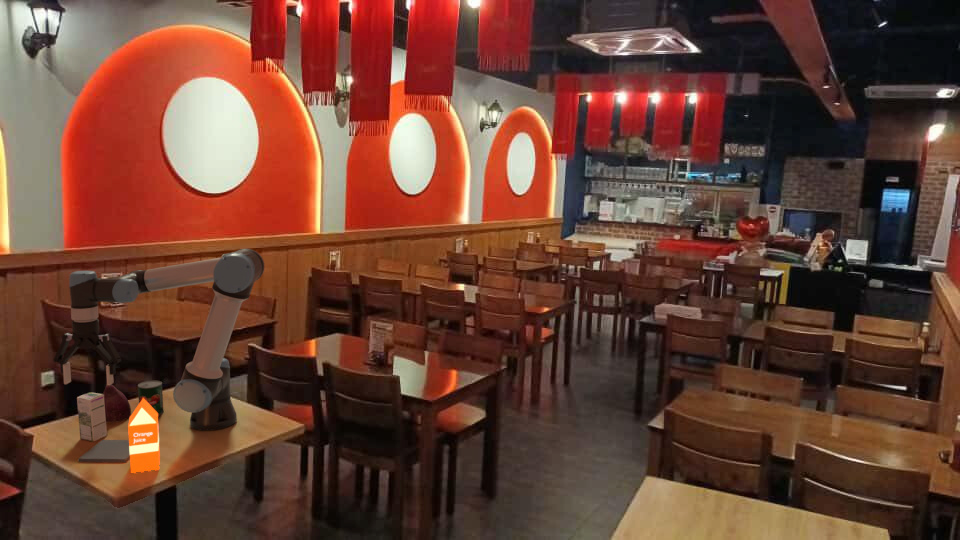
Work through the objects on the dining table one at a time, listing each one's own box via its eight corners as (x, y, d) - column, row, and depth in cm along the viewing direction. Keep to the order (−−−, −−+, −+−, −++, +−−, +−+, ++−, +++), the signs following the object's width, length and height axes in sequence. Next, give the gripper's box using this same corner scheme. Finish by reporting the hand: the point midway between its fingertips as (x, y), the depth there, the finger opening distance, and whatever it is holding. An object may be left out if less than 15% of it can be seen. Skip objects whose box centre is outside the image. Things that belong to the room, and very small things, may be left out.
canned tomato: (159, 407, 251) (158, 379, 249) (166, 413, 245) (165, 384, 244) (136, 412, 246) (134, 383, 244) (143, 419, 240) (141, 389, 238)
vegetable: (118, 431, 236) (112, 396, 230) (92, 425, 238) (85, 389, 232) (138, 414, 246) (133, 379, 240) (113, 407, 248) (108, 373, 241)
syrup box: (107, 435, 225) (105, 393, 223) (92, 442, 220) (89, 399, 218) (94, 432, 227) (91, 391, 225) (79, 439, 222) (76, 396, 219)
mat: (146, 443, 220) (146, 440, 220) (125, 462, 206) (125, 459, 206) (102, 442, 220) (102, 439, 220) (78, 461, 206) (78, 458, 206)
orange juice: (130, 474, 199) (126, 408, 196) (132, 461, 207) (128, 398, 204) (160, 469, 202) (156, 405, 199) (160, 457, 210) (157, 395, 207)
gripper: (130, 317, 221) (133, 380, 225) (52, 315, 220) (56, 378, 224) (119, 323, 214) (122, 388, 217) (38, 321, 213) (42, 386, 216)
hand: (89, 383), depth 221 cm, fingers open, 13 cm apart
